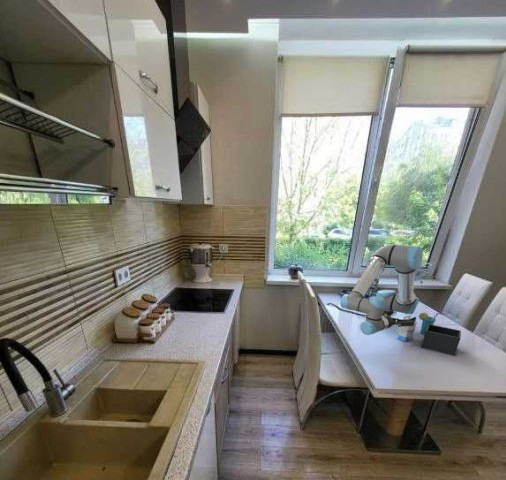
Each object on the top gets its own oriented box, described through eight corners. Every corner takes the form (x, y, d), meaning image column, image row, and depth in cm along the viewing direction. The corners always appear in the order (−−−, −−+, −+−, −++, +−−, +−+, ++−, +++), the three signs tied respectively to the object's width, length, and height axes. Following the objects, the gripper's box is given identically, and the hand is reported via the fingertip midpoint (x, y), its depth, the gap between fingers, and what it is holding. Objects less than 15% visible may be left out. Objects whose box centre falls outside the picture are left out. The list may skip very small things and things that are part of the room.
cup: (434, 331, 185) (440, 310, 178) (440, 336, 178) (447, 314, 171) (412, 330, 186) (418, 309, 180) (417, 335, 179) (424, 313, 173)
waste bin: (420, 347, 163) (425, 330, 158) (423, 339, 173) (428, 323, 168) (454, 355, 154) (460, 338, 150) (455, 347, 164) (461, 330, 159)
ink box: (405, 341, 169) (411, 319, 163) (397, 338, 173) (403, 317, 167) (412, 338, 174) (418, 317, 168) (404, 335, 178) (410, 314, 171)
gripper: (361, 322, 161) (382, 315, 172) (403, 337, 142) (423, 328, 153) (364, 309, 158) (385, 303, 169) (406, 323, 139) (427, 316, 150)
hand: (403, 315), depth 161 cm, fingers open, 13 cm apart
